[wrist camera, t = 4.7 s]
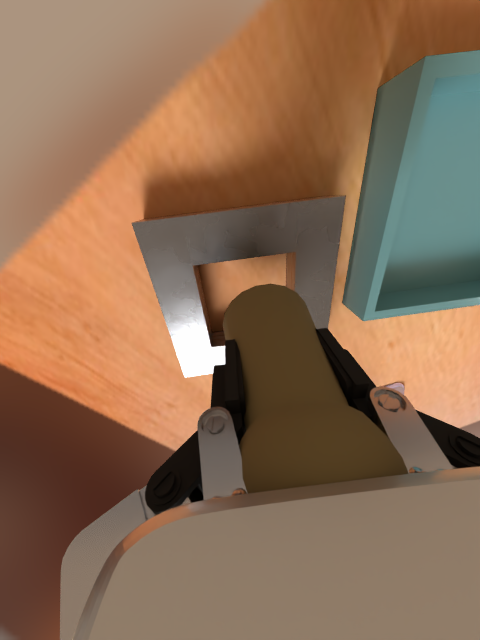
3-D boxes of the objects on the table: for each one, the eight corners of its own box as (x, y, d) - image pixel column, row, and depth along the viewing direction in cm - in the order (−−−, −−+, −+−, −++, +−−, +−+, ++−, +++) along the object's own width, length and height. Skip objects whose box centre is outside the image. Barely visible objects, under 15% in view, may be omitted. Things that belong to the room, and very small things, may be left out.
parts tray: (607, 61, 13) (720, 22, 10) (487, 282, 21) (532, 297, 18) (377, 88, 13) (425, 56, 10) (342, 303, 21) (363, 321, 18)
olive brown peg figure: (222, 283, 13) (213, 528, 3) (317, 284, 13) (548, 504, 4) (223, 358, 16) (219, 596, 6) (300, 357, 16) (404, 579, 7)
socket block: (328, 195, 16) (345, 195, 14) (313, 342, 23) (323, 357, 21) (143, 219, 15) (131, 223, 13) (187, 360, 23) (184, 377, 21)
